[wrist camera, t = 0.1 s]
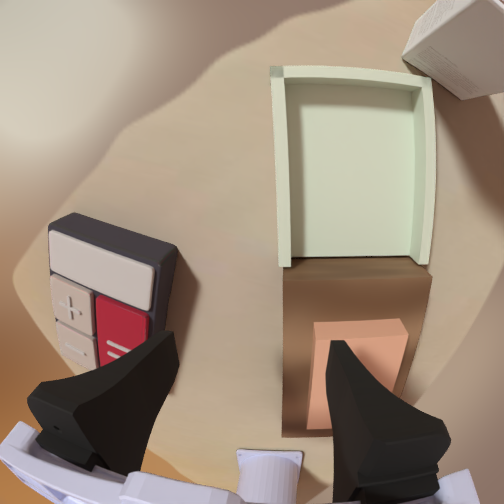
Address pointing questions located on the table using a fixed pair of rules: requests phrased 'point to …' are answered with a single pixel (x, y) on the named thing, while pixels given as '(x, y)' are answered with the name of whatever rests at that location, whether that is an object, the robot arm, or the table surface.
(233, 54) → the table surface
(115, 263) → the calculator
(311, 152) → the tray
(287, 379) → the brown wooden block
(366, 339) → the tile
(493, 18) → the skincare box
